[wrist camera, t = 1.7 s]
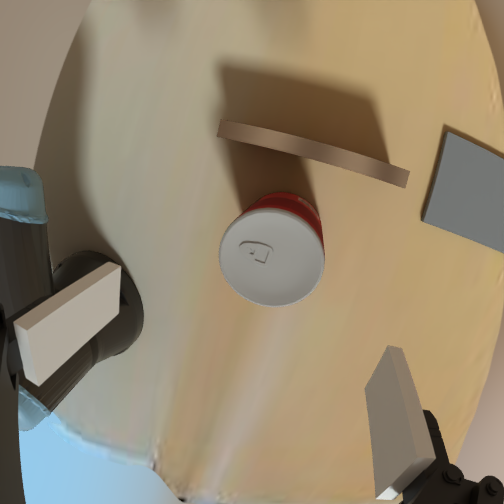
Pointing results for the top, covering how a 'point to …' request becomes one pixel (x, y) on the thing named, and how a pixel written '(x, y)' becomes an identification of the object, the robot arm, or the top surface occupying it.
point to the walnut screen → (314, 151)
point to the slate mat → (468, 193)
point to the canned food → (274, 251)
